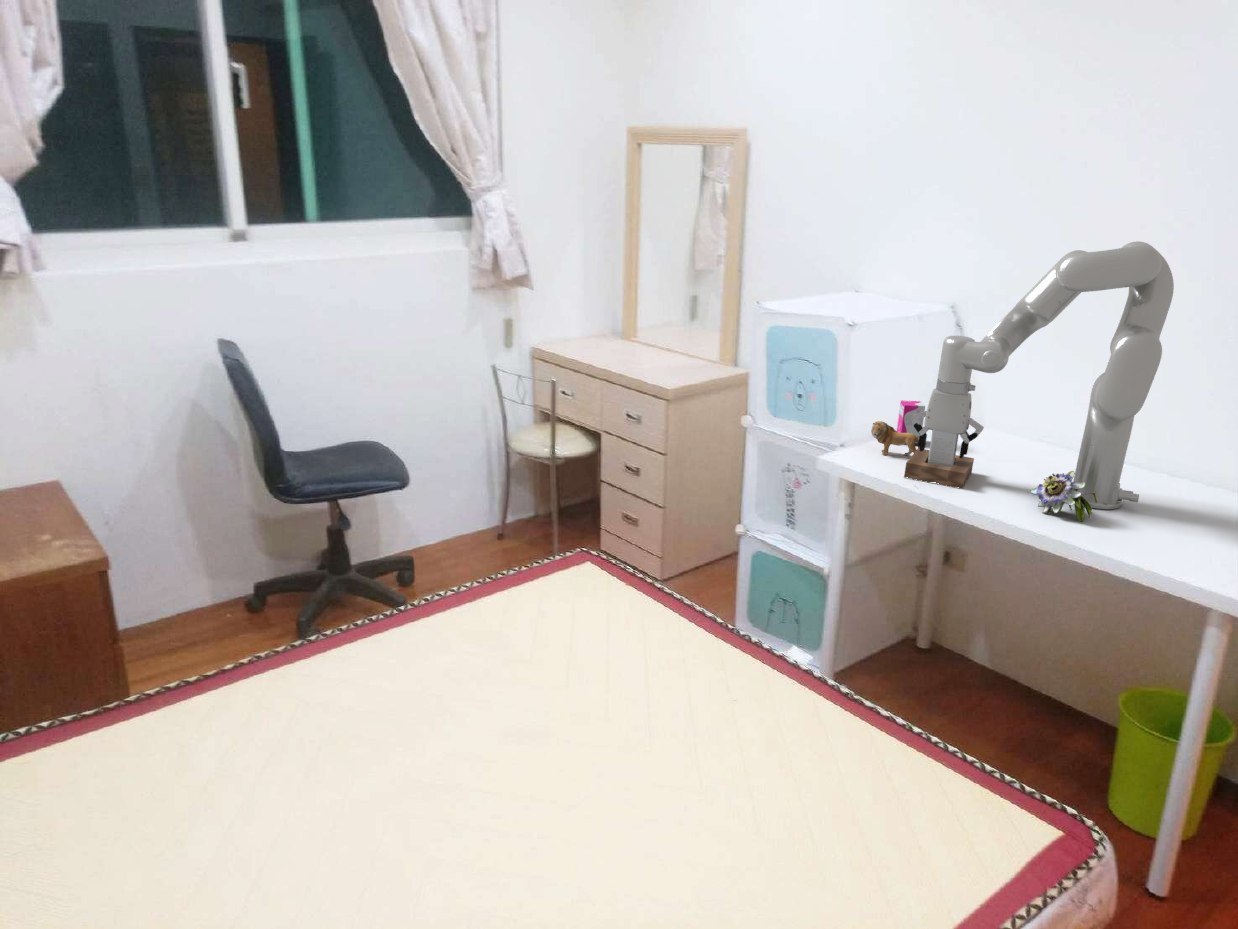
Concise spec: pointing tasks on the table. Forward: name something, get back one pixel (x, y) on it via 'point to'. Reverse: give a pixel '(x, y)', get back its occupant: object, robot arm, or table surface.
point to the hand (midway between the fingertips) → (941, 453)
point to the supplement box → (909, 416)
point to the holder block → (939, 470)
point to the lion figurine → (893, 437)
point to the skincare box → (943, 448)
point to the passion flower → (1062, 494)
